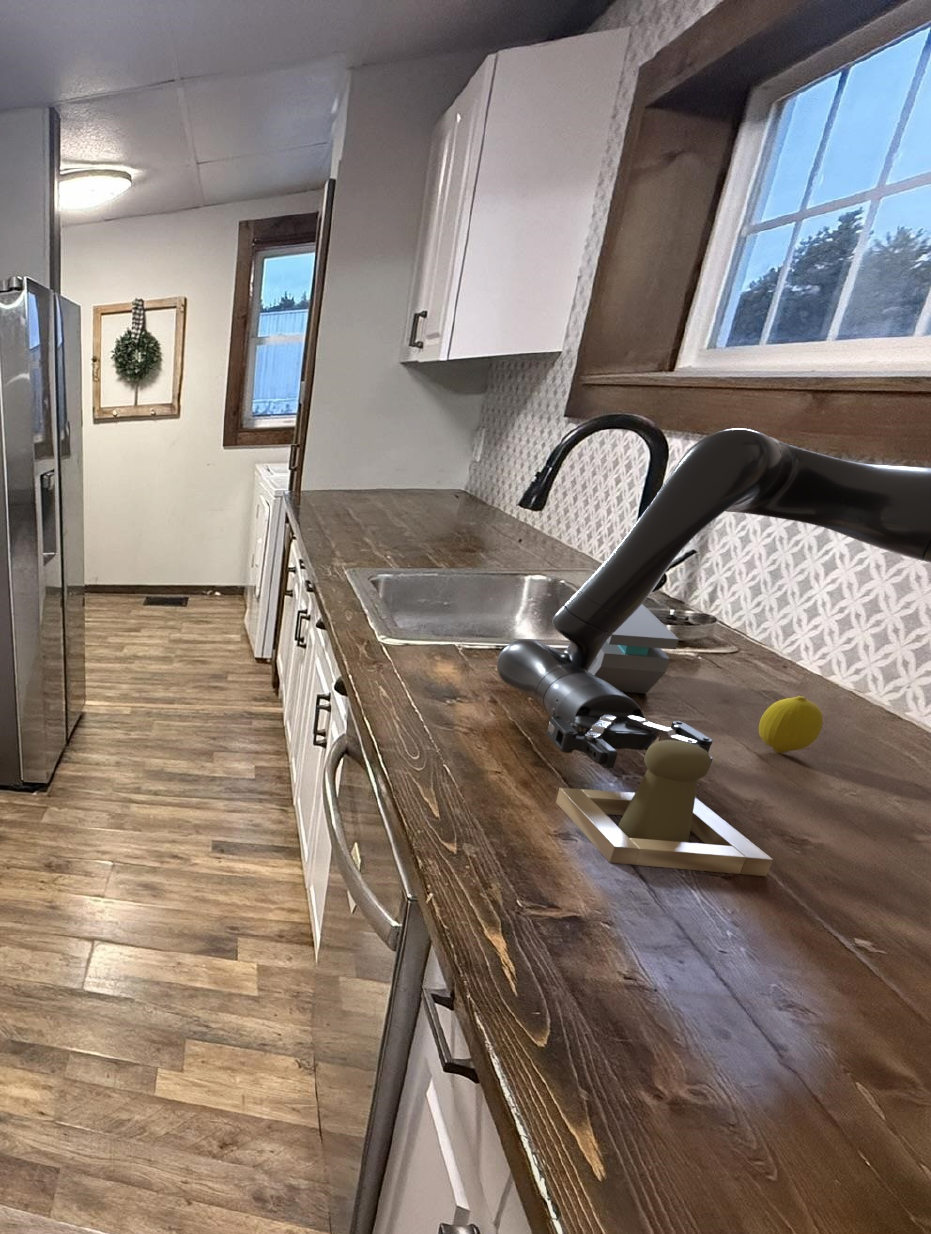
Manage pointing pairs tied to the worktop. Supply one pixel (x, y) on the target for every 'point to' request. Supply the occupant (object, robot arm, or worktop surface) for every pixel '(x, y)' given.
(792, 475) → the robot arm
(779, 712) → the lemon
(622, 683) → the grey slotted holder
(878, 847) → the worktop surface
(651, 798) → the cork
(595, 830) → the wooden frame
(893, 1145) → the worktop surface
